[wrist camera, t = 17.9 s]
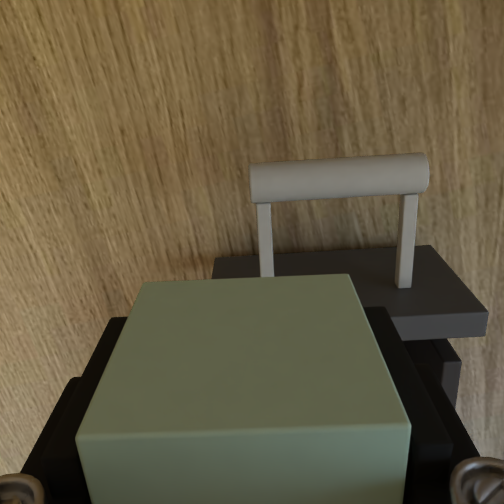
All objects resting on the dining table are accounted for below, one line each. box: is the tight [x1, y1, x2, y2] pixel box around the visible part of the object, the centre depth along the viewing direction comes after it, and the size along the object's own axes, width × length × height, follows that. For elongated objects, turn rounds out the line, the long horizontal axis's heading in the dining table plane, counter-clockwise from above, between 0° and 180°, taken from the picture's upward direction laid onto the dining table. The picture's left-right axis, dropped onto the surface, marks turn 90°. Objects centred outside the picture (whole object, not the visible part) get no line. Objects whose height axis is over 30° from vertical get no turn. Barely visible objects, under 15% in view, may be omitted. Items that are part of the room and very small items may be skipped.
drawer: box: [212, 153, 489, 409], centre depth 24 cm, size 19×11×7 cm, turn 4°
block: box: [75, 274, 411, 504], centre depth 9 cm, size 4×4×4 cm
